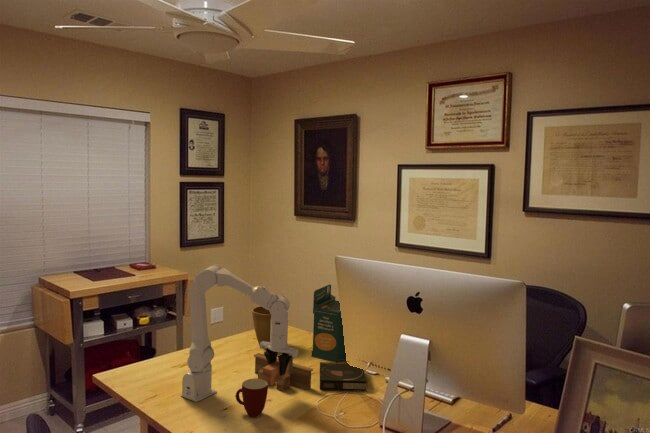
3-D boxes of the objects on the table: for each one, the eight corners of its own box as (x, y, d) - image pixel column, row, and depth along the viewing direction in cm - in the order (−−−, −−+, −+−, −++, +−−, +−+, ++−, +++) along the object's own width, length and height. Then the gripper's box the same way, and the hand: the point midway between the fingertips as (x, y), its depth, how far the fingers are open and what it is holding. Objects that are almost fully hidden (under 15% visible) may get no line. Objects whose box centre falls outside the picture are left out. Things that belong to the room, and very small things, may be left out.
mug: (229, 417, 152) (230, 386, 151) (239, 405, 160) (240, 376, 159) (262, 422, 150) (263, 390, 149) (270, 410, 158) (271, 380, 157)
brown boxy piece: (270, 385, 158) (271, 367, 157) (262, 382, 160) (262, 364, 159) (292, 373, 168) (292, 356, 168) (284, 370, 170) (284, 354, 169)
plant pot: (278, 353, 207) (279, 316, 206) (245, 348, 211) (246, 312, 210) (289, 341, 222) (290, 307, 221) (258, 337, 225) (259, 303, 224)
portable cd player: (319, 391, 173) (320, 380, 173) (319, 372, 190) (319, 362, 190) (366, 393, 174) (366, 382, 173) (361, 373, 191) (362, 363, 190)
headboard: (299, 396, 168) (299, 376, 167) (243, 378, 181) (243, 359, 180) (312, 388, 175) (313, 368, 174) (257, 371, 188) (258, 352, 187)
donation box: (328, 345, 219) (330, 283, 217) (361, 352, 212) (364, 288, 210) (311, 356, 205) (313, 291, 202) (346, 364, 198) (349, 296, 195)
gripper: (303, 334, 162) (302, 374, 163) (269, 326, 170) (268, 364, 171) (291, 340, 156) (290, 381, 157) (256, 331, 164) (255, 370, 165)
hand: (277, 373), depth 164 cm, fingers closed on brown boxy piece, 3 cm apart
